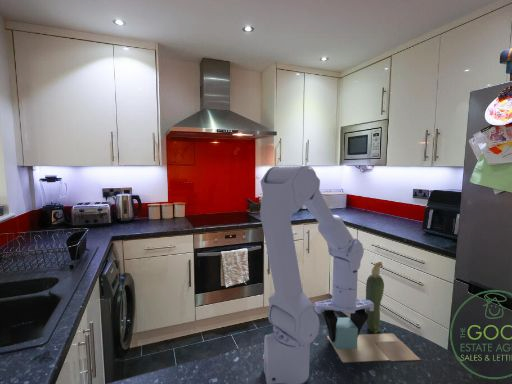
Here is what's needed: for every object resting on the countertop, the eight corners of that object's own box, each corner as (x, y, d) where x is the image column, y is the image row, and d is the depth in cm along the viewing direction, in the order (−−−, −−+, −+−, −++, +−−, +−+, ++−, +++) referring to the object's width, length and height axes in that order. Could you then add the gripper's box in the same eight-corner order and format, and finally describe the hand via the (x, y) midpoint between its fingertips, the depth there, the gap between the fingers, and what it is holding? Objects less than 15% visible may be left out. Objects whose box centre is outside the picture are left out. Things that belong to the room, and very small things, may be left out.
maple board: (343, 369, 59) (343, 363, 59) (326, 340, 69) (326, 335, 69) (420, 365, 61) (420, 359, 61) (392, 337, 71) (392, 332, 71)
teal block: (337, 349, 64) (337, 328, 64) (329, 337, 69) (329, 318, 69) (357, 348, 64) (357, 328, 64) (348, 336, 69) (348, 317, 69)
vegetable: (360, 330, 74) (363, 259, 73) (371, 327, 76) (374, 257, 75) (374, 339, 70) (377, 264, 69) (385, 335, 72) (388, 261, 71)
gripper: (321, 293, 61) (320, 350, 62) (381, 291, 63) (379, 347, 63) (312, 281, 68) (310, 333, 69) (366, 279, 70) (364, 330, 70)
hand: (342, 339), depth 67 cm, fingers closed on teal block, 5 cm apart
